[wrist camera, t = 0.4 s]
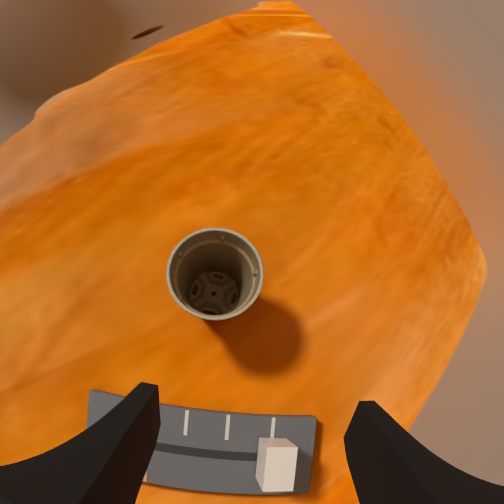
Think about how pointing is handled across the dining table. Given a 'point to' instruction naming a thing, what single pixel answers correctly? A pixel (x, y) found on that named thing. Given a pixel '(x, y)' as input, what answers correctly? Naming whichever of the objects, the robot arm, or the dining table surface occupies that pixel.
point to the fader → (276, 464)
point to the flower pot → (215, 273)
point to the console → (216, 446)
